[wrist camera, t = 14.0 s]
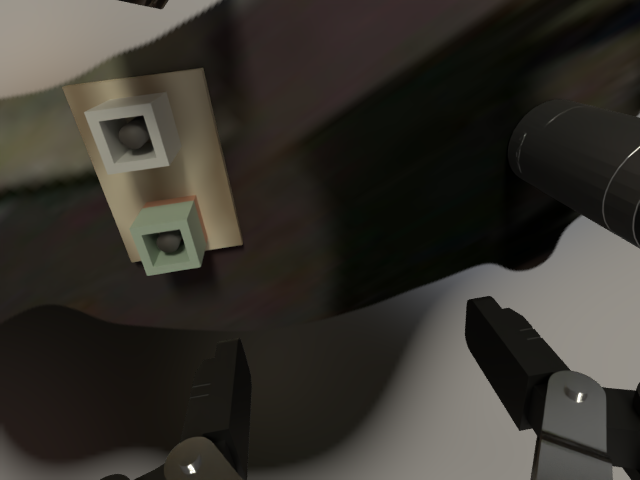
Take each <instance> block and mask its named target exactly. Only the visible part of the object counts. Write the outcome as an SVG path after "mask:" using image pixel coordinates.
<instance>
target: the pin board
mask: <svg viewBox="0 0 640 480" xmlns="http://www.w3.org/2000/svg"><path fill="white" fill-rule="evenodd" d="M62 88H63V90H64V93H65V95H66V98H67V100H68V103H69V105H70V108H71V111H72V113H73V116H74V118H75V121H76V123H77V126H78V128H79V131H80V133H81V136H82V138H83V141H84V143H85V146H86V148H87V151H88V153H89V156H90V158H91V161H92V163H93V166H94V168H95V171H96V174H97V176H98V179H99V181H100V184H101V186H102V189H103V191H104V194H105V196H106V199H107V201H108V204H109V206H110V209H111V211H112V214H113V216H114V219H115V221H116V224H117V226H118V229H119V231H120V234H121V237H122V239H123V242H124V244H125V247H126V249H127V252H128V254H129V257H130V259H131V262H138V261H141V258H140V255H139V253H138V250H137V248H136V245H135V242H134V240H133V237H132V235H131V232H130V229H129V228H130V227H131V225H132V224H133V222H134V221H135V219H136V217H137V216H138V214H139V213H140V211H141V210H142V208H143V207H144V205H145V203H146V202H152V201H159V200H165V199H172V198H179V197H185V196H192V195H196V197H197V201H198V204H199V208H200V211H201V215H202V218H203V222H204V226H205V229H206V233H207V236H208V240H207V244H206V248H205V251H206V250H213V249H219V248H225V247H231V246H238V245H243V238H242V233H241V229H240V225H239V220H238V216H237V212H236V208H235V203H234V199H233V195H232V190H231V186H230V182H229V177H228V173H227V169H226V164H225V160H224V156H223V151H222V147H221V143H220V138H219V134H218V130H217V125H216V121H215V117H214V113H213V108H212V104H211V100H210V95H209V91H208V87H207V82H206V78H205V74H204V69H203V68H196V69H188V70H180V71H173V72H165V73H158V74H150V75H142V76H135V77H127V78H120V79H112V80H104V81H97V82H89V83H81V84H74V85H67V86H64V87H62ZM162 92H167V96H168V99H169V103H170V106H171V110H172V114H173V117H174V121H175V124H176V128H177V131H178V135H179V139H180V142H181V146H182V147H181V149H180V150H179V152H178V153H177V155H176V156H175V158H174V160H173V161H172V163H171V164H170V166H164V167H158V168H151V169H144V170H137V171H130V172H123V173H117V174H110V175H108V174H107V171H106V169H105V166H104V164H103V161H102V158H101V156H100V153H99V150H98V148H97V145H96V143H95V140H94V137H93V135H92V132H91V130H90V127H89V124H88V122H87V119H86V117H85V114H84V112H85V111H87V110H89V109H91V108H93V107H95V106H98V105H100V104H102V103H104V102H106V101H108V100H110V99H117V98H125V97H132V96H140V95H147V94H155V93H162ZM126 121H127V124H126V125H124V126H123V127H122V128H121V129H120V131H119V139H120V141H121V143H122V144H123V145H124V146H126V147H127V148H130V149H138V148H141V147H142V146H143V145H144V144H145V143H150V142H152V141H151V138H150V135H149V132H148V128H147V125H146V122H145V119H144V116H143V115H142V116H135V117H127V118H126ZM181 239H182V234H181V231H180V229H178V230H172V231H165V232H160V234H159V237H158V239H157V246H158V248H159V249H160V250H161V251H163V252H166V253H172V252H174V251H176V250H177V249H178V247H179V244H180V242H181Z"/></svg>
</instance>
